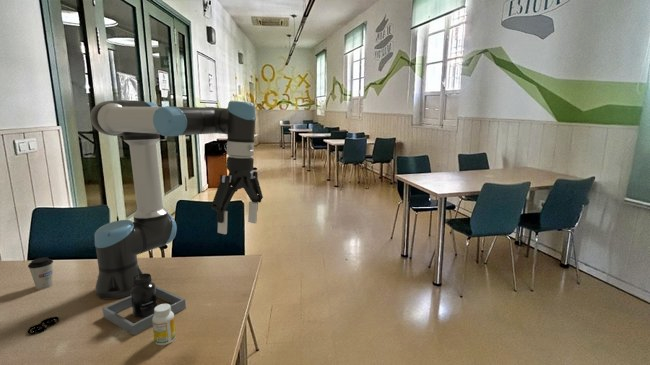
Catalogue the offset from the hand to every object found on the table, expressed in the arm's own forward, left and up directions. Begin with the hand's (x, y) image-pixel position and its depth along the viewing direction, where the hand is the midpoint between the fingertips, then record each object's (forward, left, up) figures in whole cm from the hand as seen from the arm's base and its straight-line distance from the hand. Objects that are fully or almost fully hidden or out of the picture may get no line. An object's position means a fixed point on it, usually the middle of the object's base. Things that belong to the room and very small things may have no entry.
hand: (238, 227), depth 104 cm
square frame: (-24, -17, -27) cm, 40 cm away
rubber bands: (-42, -37, -28) cm, 63 cm away
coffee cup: (-71, -27, -27) cm, 81 cm away
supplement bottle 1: (-24, -17, -27) cm, 40 cm away
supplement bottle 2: (-7, -22, -27) cm, 36 cm away
